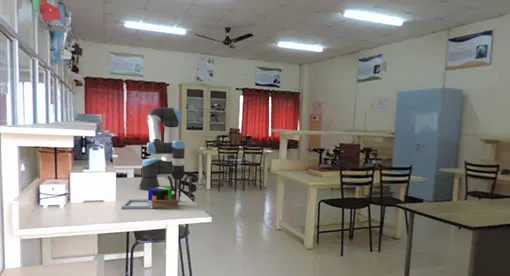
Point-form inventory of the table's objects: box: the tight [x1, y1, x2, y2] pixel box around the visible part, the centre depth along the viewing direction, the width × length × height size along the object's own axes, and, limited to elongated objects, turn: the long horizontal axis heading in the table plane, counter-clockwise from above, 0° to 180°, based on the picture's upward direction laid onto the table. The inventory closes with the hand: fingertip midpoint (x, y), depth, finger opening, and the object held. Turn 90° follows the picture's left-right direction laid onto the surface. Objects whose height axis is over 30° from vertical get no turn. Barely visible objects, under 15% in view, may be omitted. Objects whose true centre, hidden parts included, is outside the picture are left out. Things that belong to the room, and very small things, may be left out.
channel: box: [151, 193, 181, 210], centre depth 204 cm, size 18×15×5 cm
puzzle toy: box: [147, 186, 173, 207], centre depth 203 cm, size 10×10×10 cm
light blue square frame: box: [121, 198, 152, 210], centre depth 202 cm, size 18×17×2 cm
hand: (177, 201), depth 205 cm, fingers closed
